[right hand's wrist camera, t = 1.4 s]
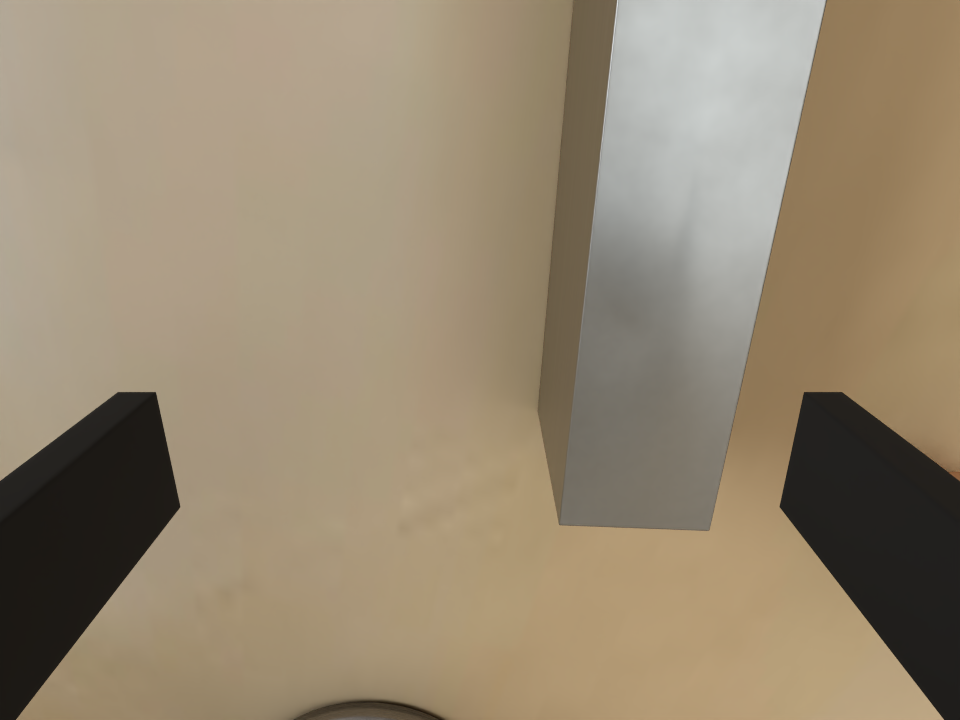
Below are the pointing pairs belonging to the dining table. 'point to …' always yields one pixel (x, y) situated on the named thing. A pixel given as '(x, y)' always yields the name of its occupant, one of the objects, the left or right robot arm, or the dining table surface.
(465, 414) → the dining table surface
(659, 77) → the bar
